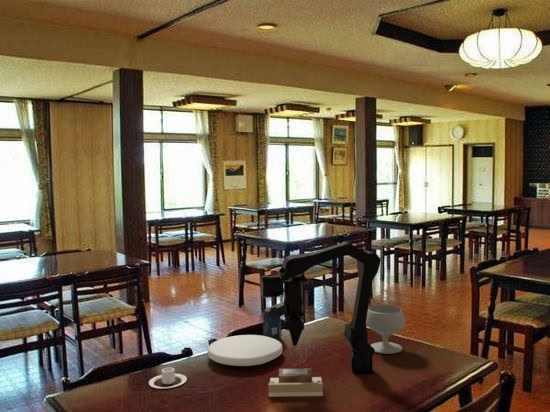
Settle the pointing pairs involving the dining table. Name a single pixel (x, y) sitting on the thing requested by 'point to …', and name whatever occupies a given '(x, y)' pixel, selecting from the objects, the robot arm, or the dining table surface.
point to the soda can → (271, 326)
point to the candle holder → (168, 378)
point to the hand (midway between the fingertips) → (294, 343)
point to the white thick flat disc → (244, 350)
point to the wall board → (295, 388)
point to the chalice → (385, 326)
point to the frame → (295, 375)
